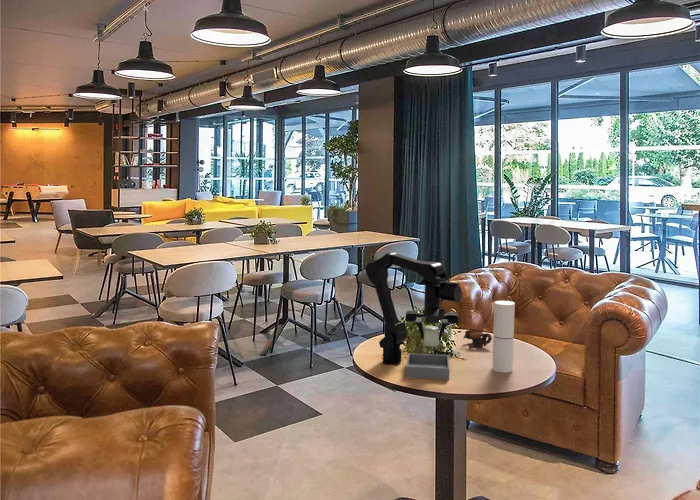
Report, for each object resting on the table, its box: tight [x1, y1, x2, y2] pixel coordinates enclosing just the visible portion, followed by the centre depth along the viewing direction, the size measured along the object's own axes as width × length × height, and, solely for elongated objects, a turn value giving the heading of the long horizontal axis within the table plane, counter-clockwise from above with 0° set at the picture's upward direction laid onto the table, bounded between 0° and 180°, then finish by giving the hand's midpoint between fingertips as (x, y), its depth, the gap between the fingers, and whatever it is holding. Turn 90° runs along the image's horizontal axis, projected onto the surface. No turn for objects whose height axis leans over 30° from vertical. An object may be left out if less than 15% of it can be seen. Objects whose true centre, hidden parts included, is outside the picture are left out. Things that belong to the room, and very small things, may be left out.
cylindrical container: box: [491, 300, 516, 374], centre depth 206 cm, size 7×7×25 cm
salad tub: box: [423, 325, 439, 347], centre depth 204 cm, size 6×6×6 cm
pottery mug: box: [463, 328, 493, 350], centre depth 236 cm, size 12×10×8 cm
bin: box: [405, 353, 450, 381], centre depth 205 cm, size 15×15×4 cm
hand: (431, 340), depth 204 cm, fingers closed on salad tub, 5 cm apart
